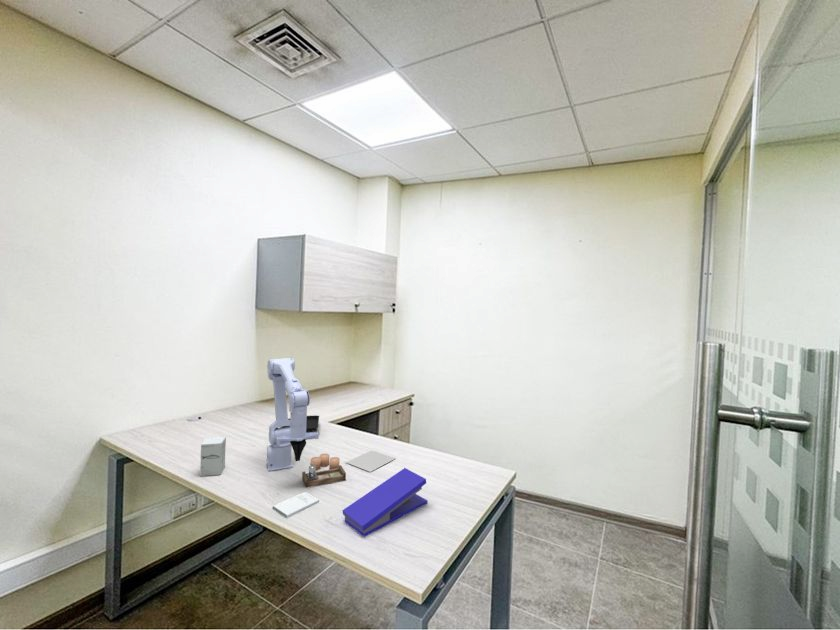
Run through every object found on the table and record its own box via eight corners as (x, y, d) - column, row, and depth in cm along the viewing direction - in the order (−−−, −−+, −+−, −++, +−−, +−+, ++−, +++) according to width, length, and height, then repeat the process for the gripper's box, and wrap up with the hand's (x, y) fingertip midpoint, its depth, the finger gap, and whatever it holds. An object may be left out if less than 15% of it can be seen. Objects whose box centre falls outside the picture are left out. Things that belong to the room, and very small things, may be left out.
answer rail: (305, 488, 136) (305, 479, 136) (302, 479, 142) (302, 471, 142) (345, 480, 143) (345, 472, 143) (340, 472, 149) (341, 465, 149)
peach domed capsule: (311, 471, 149) (311, 461, 149) (309, 467, 153) (309, 457, 153) (321, 469, 151) (321, 460, 151) (319, 465, 155) (319, 456, 155)
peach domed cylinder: (330, 471, 150) (330, 461, 150) (328, 467, 153) (328, 458, 153) (340, 469, 152) (340, 460, 151) (337, 465, 155) (338, 456, 155)
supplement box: (199, 477, 141) (200, 444, 141) (205, 468, 148) (205, 437, 148) (221, 475, 143) (221, 442, 143) (225, 466, 150) (226, 436, 150)
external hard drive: (272, 510, 122) (304, 495, 132) (286, 520, 117) (319, 503, 127) (272, 505, 122) (304, 490, 132) (287, 515, 117) (319, 499, 127)
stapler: (428, 504, 129) (429, 476, 128) (363, 539, 109) (364, 506, 108) (405, 492, 137) (406, 465, 136) (341, 522, 117) (342, 491, 116)
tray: (262, 430, 193) (262, 420, 193) (297, 419, 213) (298, 410, 213) (301, 443, 177) (302, 433, 177) (336, 430, 197) (336, 420, 197)
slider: (308, 482, 138) (309, 470, 137) (306, 476, 142) (306, 464, 142) (317, 480, 139) (318, 468, 139) (314, 474, 144) (315, 463, 143)
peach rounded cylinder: (320, 467, 153) (320, 458, 153) (318, 463, 156) (318, 454, 156) (330, 466, 155) (330, 456, 155) (327, 462, 158) (328, 453, 158)
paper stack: (413, 465, 159) (413, 464, 159) (374, 489, 138) (374, 487, 138) (371, 451, 172) (372, 450, 172) (330, 470, 151) (330, 469, 151)
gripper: (278, 429, 130) (277, 467, 131) (320, 424, 137) (319, 461, 137) (276, 423, 137) (275, 459, 137) (316, 419, 143) (315, 453, 144)
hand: (297, 460), depth 138 cm, fingers closed
